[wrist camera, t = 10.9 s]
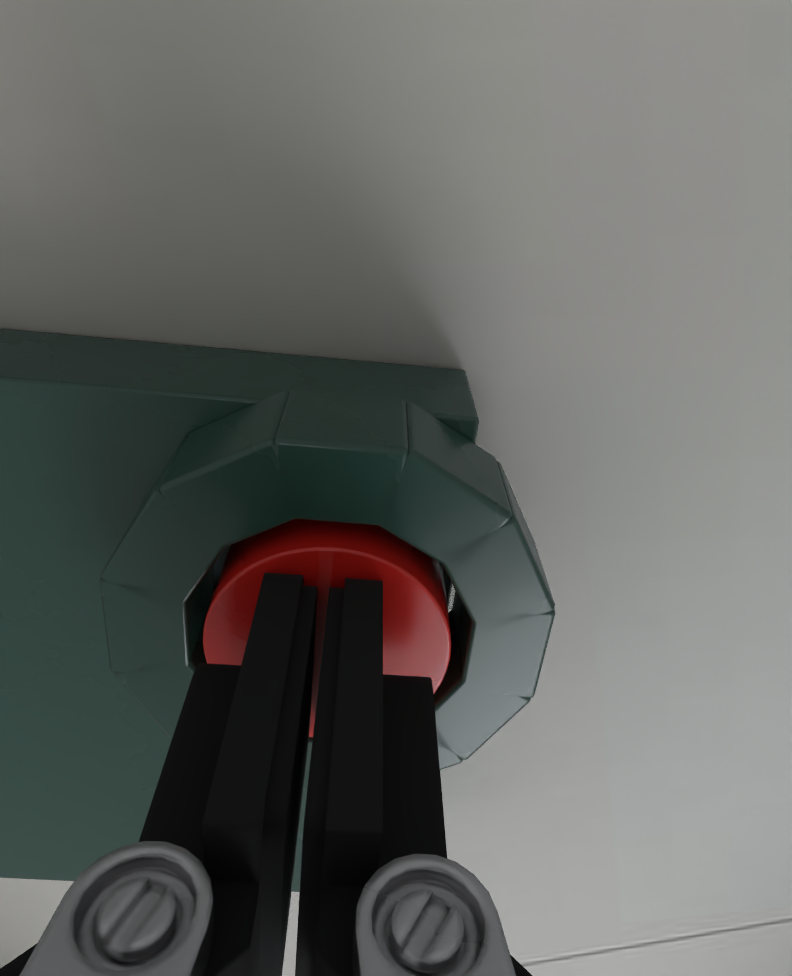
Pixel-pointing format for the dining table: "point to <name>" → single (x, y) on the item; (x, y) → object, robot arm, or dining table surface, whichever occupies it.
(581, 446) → the dining table surface
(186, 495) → the button box
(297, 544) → the button
